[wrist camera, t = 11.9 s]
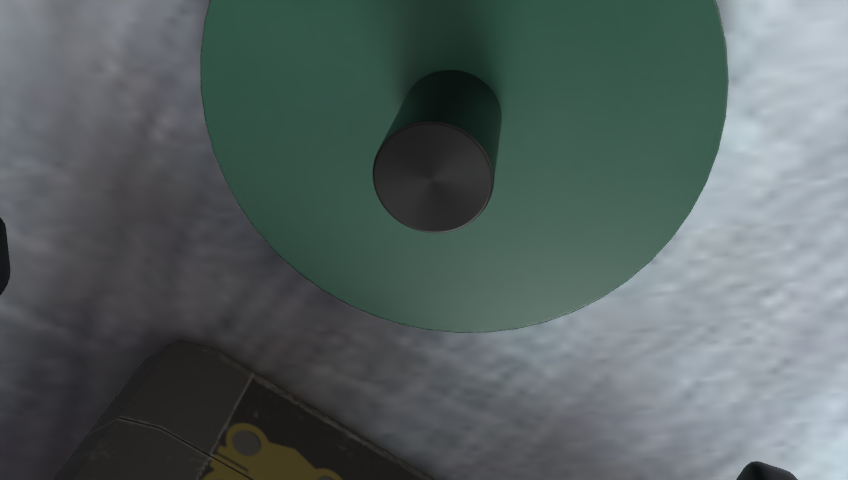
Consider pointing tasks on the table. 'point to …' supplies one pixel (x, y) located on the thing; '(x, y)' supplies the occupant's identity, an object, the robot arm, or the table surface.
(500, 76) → the lid
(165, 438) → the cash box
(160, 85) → the table surface
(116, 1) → the table surface
